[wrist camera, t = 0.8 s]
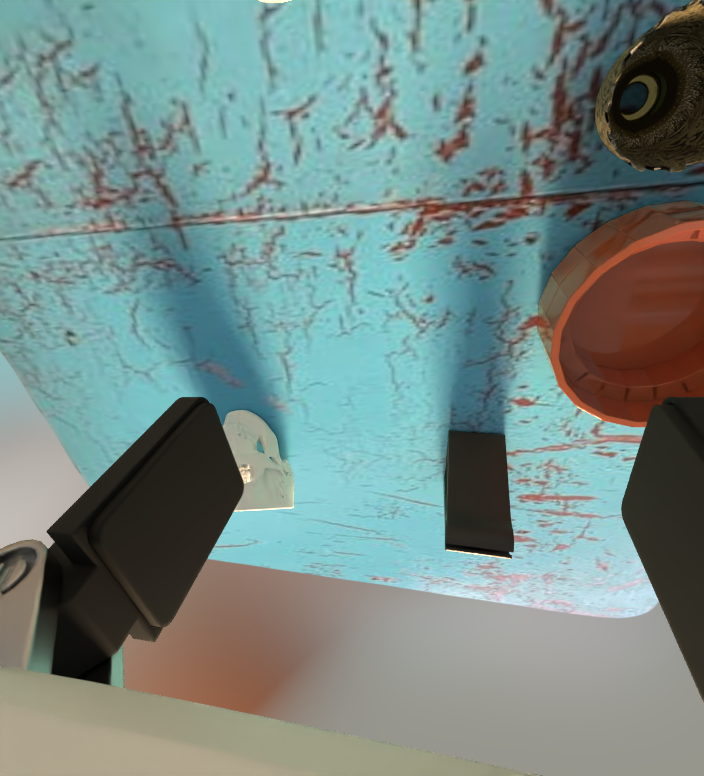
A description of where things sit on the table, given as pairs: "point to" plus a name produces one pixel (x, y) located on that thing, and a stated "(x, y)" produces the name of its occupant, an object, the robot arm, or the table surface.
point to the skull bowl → (259, 463)
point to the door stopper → (477, 495)
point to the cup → (659, 95)
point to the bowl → (629, 313)
